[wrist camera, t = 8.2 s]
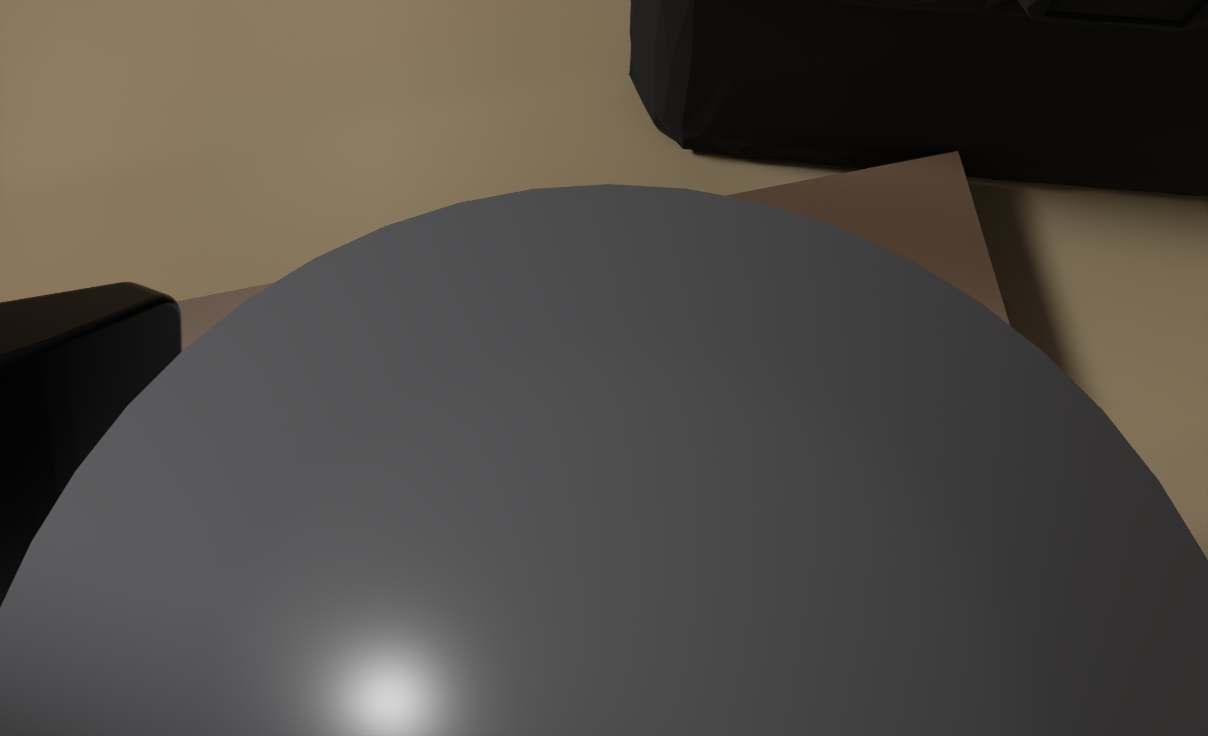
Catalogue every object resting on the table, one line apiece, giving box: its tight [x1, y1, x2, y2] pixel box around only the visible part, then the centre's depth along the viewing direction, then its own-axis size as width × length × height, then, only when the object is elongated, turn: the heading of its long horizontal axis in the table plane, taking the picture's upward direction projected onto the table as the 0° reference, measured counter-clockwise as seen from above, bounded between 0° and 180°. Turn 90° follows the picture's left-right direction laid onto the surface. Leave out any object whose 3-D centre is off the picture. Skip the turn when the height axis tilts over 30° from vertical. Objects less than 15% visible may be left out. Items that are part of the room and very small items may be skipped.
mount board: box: [177, 151, 1010, 351], centre depth 15 cm, size 14×14×2 cm
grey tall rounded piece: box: [0, 184, 1208, 736], centre depth 9 cm, size 6×6×11 cm
